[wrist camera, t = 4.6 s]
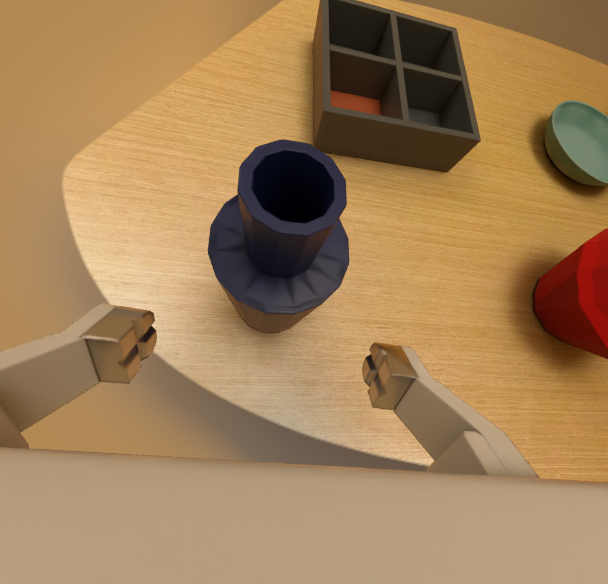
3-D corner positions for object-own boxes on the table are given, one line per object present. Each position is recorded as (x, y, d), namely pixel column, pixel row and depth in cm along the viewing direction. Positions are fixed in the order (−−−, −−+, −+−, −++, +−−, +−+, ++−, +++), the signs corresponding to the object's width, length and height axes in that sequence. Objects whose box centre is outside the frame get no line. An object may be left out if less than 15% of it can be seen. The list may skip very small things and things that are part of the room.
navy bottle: (233, 332, 21) (157, 283, 5) (239, 265, 22) (192, 80, 7) (304, 334, 22) (404, 296, 7) (304, 269, 23) (387, 118, 8)
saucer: (624, 201, 35) (652, 190, 33) (546, 191, 33) (570, 177, 30) (594, 124, 39) (617, 109, 36) (521, 109, 36) (541, 91, 34)
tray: (312, 150, 27) (323, 110, 23) (312, 42, 32) (321, -10, 27) (447, 172, 30) (481, 140, 26) (430, 70, 35) (456, 28, 30)
